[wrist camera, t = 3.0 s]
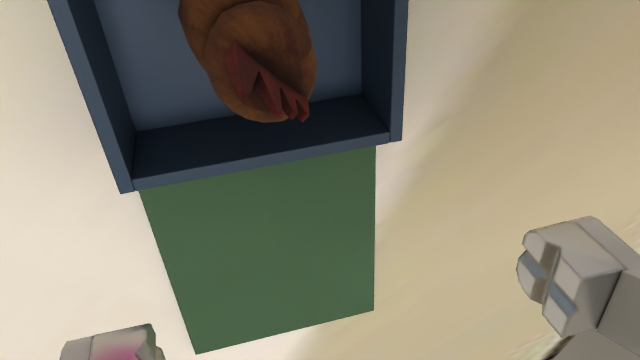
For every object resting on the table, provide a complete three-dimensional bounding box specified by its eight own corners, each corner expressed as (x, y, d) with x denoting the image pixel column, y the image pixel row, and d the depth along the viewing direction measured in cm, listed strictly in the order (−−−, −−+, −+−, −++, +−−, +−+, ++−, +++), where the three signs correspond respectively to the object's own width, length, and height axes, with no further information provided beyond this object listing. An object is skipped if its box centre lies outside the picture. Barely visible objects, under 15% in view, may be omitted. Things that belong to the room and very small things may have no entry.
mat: (373, 126, 36) (376, 130, 35) (371, 305, 47) (373, 310, 47) (133, 170, 33) (132, 175, 32) (195, 349, 45) (195, 355, 44)
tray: (372, -174, 25) (417, -175, 21) (370, 100, 34) (402, 140, 30) (28, -149, 22) (-8, -144, 18) (127, 142, 31) (120, 194, 27)
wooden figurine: (157, -26, 26) (149, 89, 14) (250, -81, 26) (321, -11, 14) (224, 75, 30) (261, 230, 18) (305, 29, 30) (397, 157, 18)
